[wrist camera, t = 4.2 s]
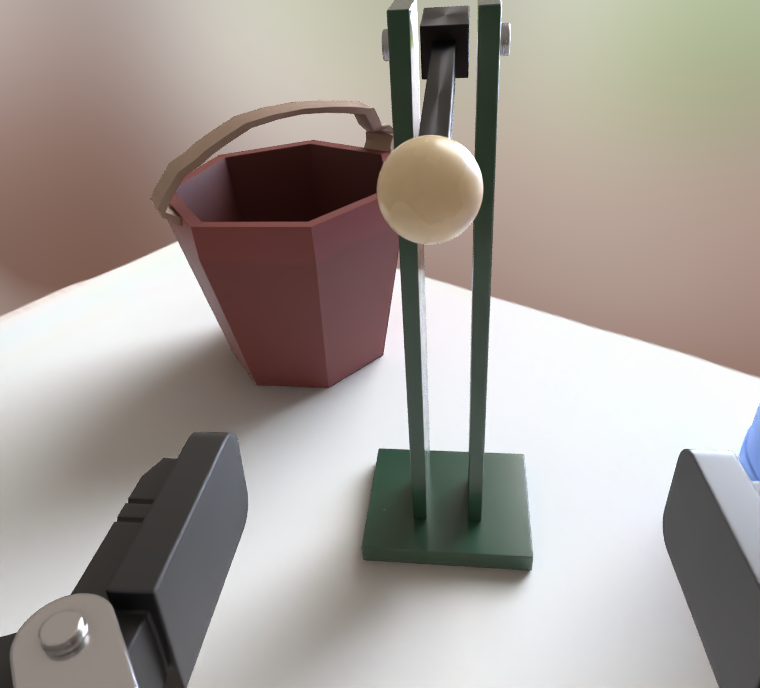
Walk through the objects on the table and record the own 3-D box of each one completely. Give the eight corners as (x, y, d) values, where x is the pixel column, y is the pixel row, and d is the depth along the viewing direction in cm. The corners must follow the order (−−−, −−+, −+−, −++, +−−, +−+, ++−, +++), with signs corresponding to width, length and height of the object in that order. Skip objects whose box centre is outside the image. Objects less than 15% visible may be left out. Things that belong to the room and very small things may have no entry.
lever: (482, 265, 20) (485, 166, 18) (375, 265, 21) (365, 168, 18) (480, 66, 32) (482, -8, 30) (414, 69, 33) (410, -3, 31)
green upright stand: (531, 570, 45) (596, 8, 25) (363, 559, 46) (294, 24, 26) (522, 466, 53) (566, -20, 33) (379, 460, 54) (337, -7, 34)
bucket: (388, 276, 81) (374, 67, 67) (457, 375, 63) (458, 119, 49) (193, 318, 76) (132, 100, 62) (209, 438, 58) (130, 172, 44)
